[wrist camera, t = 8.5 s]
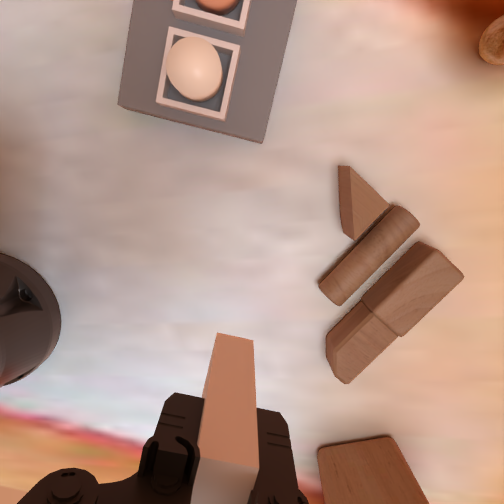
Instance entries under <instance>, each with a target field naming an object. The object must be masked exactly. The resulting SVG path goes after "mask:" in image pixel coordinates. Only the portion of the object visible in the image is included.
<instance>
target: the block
mask: <svg viewBox="0 0 504 504" xmlns="http://www.w3.org/2000/svg"><path fill="white" fill-rule="evenodd" d="M317 459H318V466H319V472H320V478H321V484H322V490H323V496H324V502H325V504H429V502H428V500H427V499H426V497H425V495H424V493H423V491H422V489H421V488H420V486H419V484H418V482H417V480H416V478H415V477H414V475H413V473H412V471H411V469H410V467H409V466H408V464H407V462H406V460H405V458H404V456H403V455H402V453H401V451H400V449H399V447H398V445H397V444H396V442H395V441H394V440H393V439H392V438H389V437H383V438H377V439H371V440H365V441H359V442H353V443H347V444H341V445H335V446H329V447H323V448H321V449H320V450H319V453H318V457H317Z"/></svg>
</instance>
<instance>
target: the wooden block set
mask: <svg viewBox="0 0 504 504" xmlns="http://www.w3.org/2000/svg"><path fill="white" fill-rule="evenodd" d="M338 175H339V199H340V214H341V224H342V229H343V233H344V234H346V235H347V236H349V237H350V238H351V239H353V240H354V241H355V240H356V239H357V238H358V237H359V236H360V235H361V234H362V233H363V232H364V231H365V230H366V229H367V228H368V227H369V226H370V225H371V224H372V223H373V222H374V220H375V219H376V218H377V217H378V216H379V215H380V214H381V213H382V212H383V211H384V210H385V209H386V208H387V207H388V206H389V204H388V203H387V202H386V201H385V200H384V199H383V198H382V197H381V196H380V195H379V194H378V193H377V192H376V191H375V190H374V189H373V188H372V187H371V186H370V185H369V184H368V183H367V182H366V181H365V180H364V179H363V178H361V177H360V176H359V175H358V174H357V173H356V172H355V171H354V170H353V169H352V168H351V167H350V166H338ZM419 226H420V223H419V222H418V220H417V219H416V218H415V217H414V216H413V215H412V214H411V213H410V212H408V211H407V210H406V209H404V208H403V207H400V206H395V207H394V208H393V209H392V210H391V211H390V212H389V213H388V214H387V215H386V216H385V217H384V218H383V219H382V220H381V221H380V222H379V223H378V224H377V225H376V226H375V227H374V228H373V229H372V230H371V232H370V233H369V234H368V235H367V236H366V237H365V238H364V239H363V240H362V241H361V242H360V243H359V244H358V245H357V246H356V247H355V248H354V249H353V250H352V251H351V252H350V253H349V254H348V255H347V256H346V257H345V258H344V259H343V260H342V262H341V263H340V264H339V265H338V266H337V267H336V268H335V269H334V270H333V271H332V272H331V273H330V274H329V275H328V276H327V277H326V278H325V279H324V280H323V281H322V282H321V283H320V284H319V288H320V290H321V291H322V292H323V293H324V294H325V295H326V296H327V297H328V298H329V299H330V300H331V301H332V302H333V303H334V304H336V305H338V306H341V305H342V304H343V303H344V302H345V301H346V300H347V299H348V298H349V297H350V296H351V295H352V294H353V293H354V292H355V291H356V290H357V289H358V288H359V287H360V286H361V285H362V284H363V283H364V282H365V281H366V280H367V279H368V278H369V277H370V276H371V275H372V274H373V273H374V272H375V271H376V270H377V269H378V268H379V267H380V266H381V265H382V264H383V263H384V262H385V261H386V260H387V259H388V258H389V257H390V256H391V255H392V254H393V253H394V252H395V251H396V250H397V249H398V248H399V247H400V246H401V245H402V244H403V243H404V242H405V241H406V240H407V239H408V238H409V237H410V236H411V235H412V234H413V233H414V232H415V231H416V230H417V229H418V228H419ZM463 278H464V276H463V273H462V272H461V271H460V270H459V269H458V268H457V267H456V266H454V265H453V264H452V263H451V262H450V261H449V260H448V259H447V258H446V257H445V256H444V255H443V254H442V253H441V252H440V251H439V250H437V249H435V248H433V247H431V246H428V245H426V244H424V243H422V242H417V243H415V244H414V245H413V246H412V247H411V248H410V249H409V250H408V251H407V252H406V253H405V254H404V255H403V256H402V257H401V258H400V259H399V260H398V261H397V262H396V263H395V264H394V265H393V266H392V267H391V268H390V269H389V270H388V271H387V272H386V273H385V274H384V275H383V276H382V277H381V278H380V279H379V280H378V281H377V282H376V283H375V284H374V285H373V286H372V287H371V288H370V289H369V290H368V291H367V292H366V293H365V294H364V295H363V296H362V298H361V300H362V301H360V302H359V303H358V304H357V305H356V306H355V307H354V308H353V309H352V310H351V311H350V312H349V313H348V314H347V315H346V316H345V317H344V318H343V319H342V320H341V321H340V322H339V323H338V324H337V325H336V326H335V327H334V328H333V329H332V330H331V331H330V332H329V333H328V335H327V337H326V357H327V360H328V362H329V364H330V367H331V369H332V371H333V373H334V375H335V377H336V378H338V379H339V380H340V381H341V382H342V383H344V384H349V383H350V382H351V381H352V380H353V379H354V378H355V377H356V376H357V375H359V374H360V373H361V372H362V371H363V370H364V369H365V368H366V367H367V366H368V365H369V364H370V363H371V362H372V361H373V360H374V359H375V358H376V357H377V356H378V355H379V354H380V353H382V352H383V351H384V350H385V349H386V348H387V347H388V346H389V345H390V344H391V343H392V342H393V341H394V340H395V339H396V338H397V337H398V336H400V337H402V336H404V335H405V334H406V333H407V332H408V331H409V330H410V329H411V328H412V327H413V326H415V325H416V324H417V323H418V322H419V321H420V320H421V319H422V318H423V317H424V316H425V315H426V314H427V313H428V312H429V311H430V310H431V309H432V308H433V307H434V306H436V305H437V304H438V303H439V302H440V301H441V300H442V299H443V298H444V297H445V296H446V295H447V294H448V293H449V292H450V291H451V290H452V289H453V288H454V287H455V286H456V285H458V284H459V283H460V282H461V281H462V280H463Z"/></svg>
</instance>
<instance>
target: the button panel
mask: <svg viewBox="0 0 504 504" xmlns="http://www.w3.org/2000/svg"><path fill="white" fill-rule="evenodd" d="M296 3H297V0H240V1H239V3H238V5H237V6H236V7H235V8H234V10H232V11H231V12H229V13H228V14H225V15H220V16H218V15H215V14H211V13H207V12H205V11H203V10H202V9H201V8H200V7H199V6H198V4H197V3H196V1H195V0H134V1H133V7H132V14H131V20H130V27H129V33H128V40H127V46H126V53H125V59H124V66H123V72H122V79H121V85H120V92H119V98H118V105H119V106H121V107H123V108H125V109H128V110H132V111H135V112H139V113H143V114H147V115H151V116H155V117H159V118H163V119H167V120H171V121H175V122H179V123H182V124H186V125H190V126H194V127H198V128H202V129H206V130H210V131H214V132H218V133H222V134H226V135H229V136H233V137H237V138H241V139H245V140H249V141H253V142H257V143H261V144H262V143H263V140H264V136H265V132H266V127H267V123H268V119H269V115H270V111H271V107H272V102H273V98H274V94H275V90H276V86H277V82H278V78H279V73H280V69H281V65H282V61H283V57H284V53H285V48H286V44H287V40H288V36H289V32H290V28H291V24H292V19H293V15H294V11H295V7H296ZM185 37H199V38H202V39H204V40H206V41H208V42H209V43H210V44H211V45H212V46H213V47H214V48H215V50H216V51H217V53H218V55H219V58H220V62H221V67H222V71H223V81H222V85H221V88H220V90H219V91H218V93H217V94H216V95H215V96H214V97H212V98H211V99H209V100H207V101H203V102H194V101H191V100H188V99H187V98H185V97H184V96H183V95H181V93H180V92H179V91H178V90H177V89H176V88H175V87H174V86H173V84H172V83H171V81H170V80H169V77H168V75H167V70H166V60H167V56H168V53H169V51H170V49H171V48H172V46H173V45H174V44H175V43H176V42H177V41H179V40H181V39H183V38H185Z"/></svg>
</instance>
